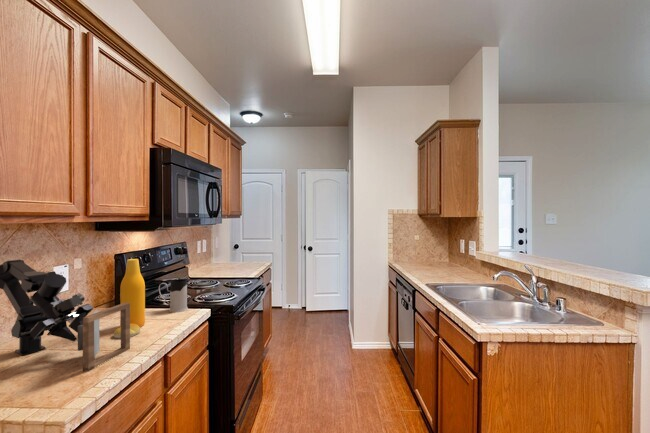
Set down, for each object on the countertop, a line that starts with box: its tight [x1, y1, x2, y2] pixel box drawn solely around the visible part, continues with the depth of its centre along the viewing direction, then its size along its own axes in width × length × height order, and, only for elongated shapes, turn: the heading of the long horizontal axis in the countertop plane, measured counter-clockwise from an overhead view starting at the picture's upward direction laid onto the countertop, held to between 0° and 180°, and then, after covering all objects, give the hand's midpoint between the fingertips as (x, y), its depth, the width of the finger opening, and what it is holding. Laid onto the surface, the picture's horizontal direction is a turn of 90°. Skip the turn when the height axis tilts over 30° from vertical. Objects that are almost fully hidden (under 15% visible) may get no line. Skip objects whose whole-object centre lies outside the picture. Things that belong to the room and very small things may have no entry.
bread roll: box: [113, 324, 142, 339], centre depth 128 cm, size 8×9×4 cm
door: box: [77, 310, 100, 358], centre depth 105 cm, size 6×12×14 cm, turn 22°
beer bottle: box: [119, 258, 146, 328], centre depth 137 cm, size 9×9×29 cm
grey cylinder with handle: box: [158, 278, 189, 313], centre depth 161 cm, size 9×14×15 cm, turn 94°
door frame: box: [82, 303, 131, 372], centre depth 106 cm, size 2×17×16 cm, turn 172°
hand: (80, 337), depth 107 cm, fingers open, 3 cm apart
